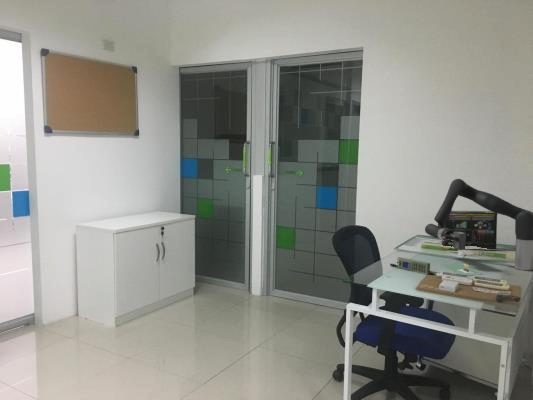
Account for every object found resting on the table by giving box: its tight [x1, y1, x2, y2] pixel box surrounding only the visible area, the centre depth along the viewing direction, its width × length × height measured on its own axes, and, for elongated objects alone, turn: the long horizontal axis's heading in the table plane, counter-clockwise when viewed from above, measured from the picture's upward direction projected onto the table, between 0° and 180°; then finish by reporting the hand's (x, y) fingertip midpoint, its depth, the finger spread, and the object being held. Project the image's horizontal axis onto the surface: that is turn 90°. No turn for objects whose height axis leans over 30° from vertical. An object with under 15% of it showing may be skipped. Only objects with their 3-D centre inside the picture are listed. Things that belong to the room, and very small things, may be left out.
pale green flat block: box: [440, 263, 483, 277], centre depth 258 cm, size 22×14×5 cm, turn 7°
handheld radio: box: [389, 256, 431, 276], centre depth 259 cm, size 7×3×25 cm
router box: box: [441, 210, 499, 250], centre depth 322 cm, size 36×11×27 cm, turn 81°
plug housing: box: [453, 232, 466, 249], centre depth 259 cm, size 6×4×9 cm, turn 6°
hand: (462, 239), depth 256 cm, fingers closed on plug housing, 3 cm apart
